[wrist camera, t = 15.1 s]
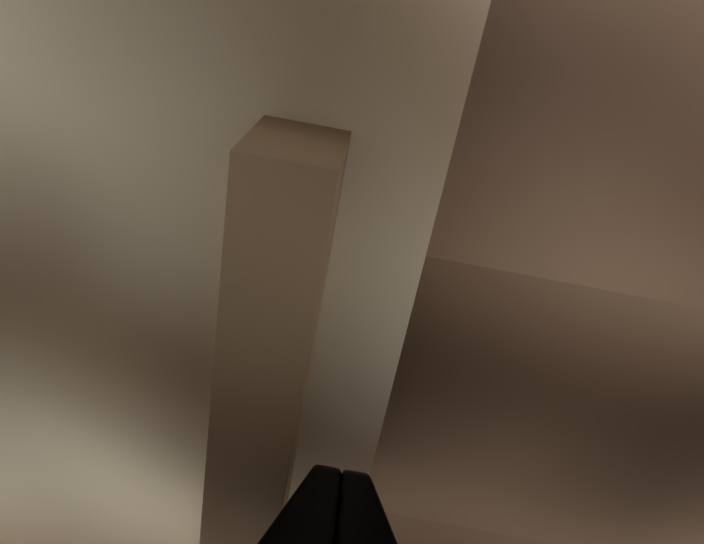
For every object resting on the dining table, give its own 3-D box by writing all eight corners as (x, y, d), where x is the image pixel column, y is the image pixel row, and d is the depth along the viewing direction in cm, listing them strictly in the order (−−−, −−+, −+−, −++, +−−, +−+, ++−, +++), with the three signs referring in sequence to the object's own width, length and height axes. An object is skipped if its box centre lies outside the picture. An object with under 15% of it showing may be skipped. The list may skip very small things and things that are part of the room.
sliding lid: (326, 623, 14) (312, 749, 12) (-43, 556, 14) (-131, 670, 12) (485, -11, 8) (520, -5, 6) (-189, -143, 8) (-440, -191, 5)
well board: (681, 654, 16) (707, 716, 15) (-6, 528, 16) (-43, 579, 15) (1135, 38, 9) (1264, 50, 8) (-122, -208, 9) (-217, -241, 7)
